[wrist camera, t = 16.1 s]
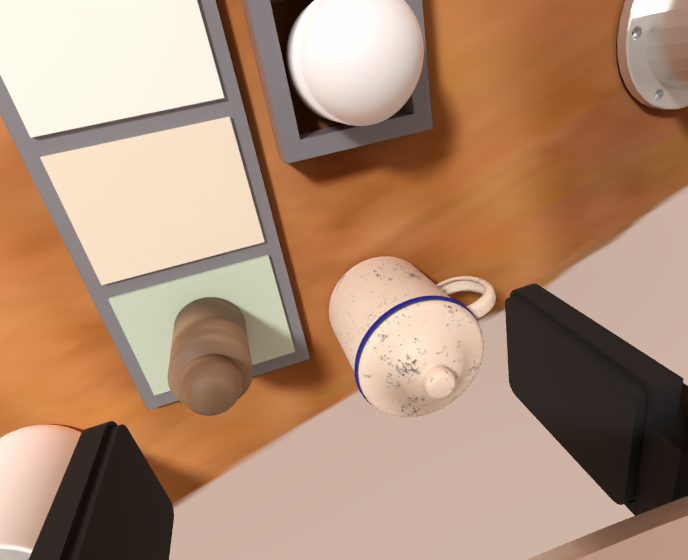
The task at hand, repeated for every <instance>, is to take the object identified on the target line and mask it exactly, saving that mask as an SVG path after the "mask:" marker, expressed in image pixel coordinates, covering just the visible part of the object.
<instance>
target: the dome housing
mask: <svg viewBox="0 0 688 560" xmlns="http://www.w3.org/2000/svg"><path fill="white" fill-rule="evenodd" d="M241 1H242V5H243V9H244V13H245V18H246V22H247V26H248V30H249V34H250V38H251V43H252V47H253V51H254V55H255V59H256V63H257V67H258V72H259V76H260V80H261V84H262V88H263V92H264V96H265V101H266V105H267V109H268V113H269V117H270V121H271V125H272V130H273V134H274V138H275V142H276V146H277V150H278V154H279V158H280V159H281V160H282V161H283V162H284V163H285V164H288V163H292V162H296V161H300V160H305V159H309V158H313V157H317V156H321V155H326V154H330V153H334V152H338V151H343V150H347V149H351V148H355V147H359V146H364V145H368V144H372V143H376V142H381V141H385V140H389V139H393V138H397V137H402V136H406V135H410V134H414V133H419V132H423V131H427V130H431V129H433V122H432V111H431V99H430V87H429V75H428V64H427V52H426V40H425V29H424V17H423V5H422V0H405V1H406V3H407V4H408V5H409V7H410V8H411V9H412V11H413V12H414V14H415V16H416V18H417V20H418V23H419V26H420V29H421V33H422V37H423V44H424V58H423V66H422V71H421V74H420V77H419V80H418V82H417V85H416V87H415V89H414V91H413V93H412V94H411V96H410V98H409V99H408V100H407V102H406V103H405V104H404V105H403V107H402V108H401V109H400V110H399V111H397V112H396V113H395V114H394V115H392V116H391V117H389V118H388V119H386V120H384V121H382V122H379V123H376V124H373V125H367V126H353V125H347V124H340V125H336V126H331V127H327V128H322V129H318V130H314V131H309V132H305V133H300V134H299V132H298V127H297V123H296V118H295V114H294V109H293V104H292V100H291V95H290V91H289V86H288V81H287V77H286V72H285V67H284V63H283V58H282V54H281V49H280V44H279V40H278V35H277V31H276V26H275V21H274V17H273V12H272V7H271V3H276V2H281V1H287V0H241Z"/></svg>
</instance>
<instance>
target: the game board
mask: <svg viewBox="0 0 688 560" xmlns="http://www.w3.org/2000/svg"><path fill="white" fill-rule="evenodd" d="M0 115H1V117H2V119H3V121H4V123H5V125H6V127H7V129H8V131H9V133H10V135H11V137H12V139H13V141H14V143H15V145H16V147H17V149H18V151H19V153H20V155H21V157H22V159H23V161H24V163H25V165H26V167H27V169H28V171H29V173H30V175H31V177H32V179H33V181H34V183H35V185H36V187H37V189H38V191H39V193H40V195H41V197H42V199H43V201H44V203H45V205H46V207H47V209H48V211H49V213H50V215H51V217H52V219H53V221H54V223H55V225H56V227H57V229H58V231H59V233H60V235H61V237H62V239H63V241H64V243H65V245H66V247H67V249H68V251H69V253H70V255H71V257H72V259H73V261H74V263H75V265H76V267H77V269H78V271H79V273H80V275H81V277H82V279H83V281H84V283H85V285H86V287H87V289H88V291H89V293H90V295H91V297H92V299H93V301H94V303H95V305H96V307H97V309H98V311H99V313H100V315H101V317H102V319H103V321H104V323H105V325H106V327H107V329H108V331H109V333H110V336H111V338H112V340H113V342H114V344H115V346H116V348H117V350H118V352H119V354H120V356H121V358H122V360H123V362H124V364H125V366H126V368H127V370H128V372H129V374H130V376H131V378H132V380H133V382H134V384H135V386H136V388H137V390H138V392H139V394H140V396H141V398H142V400H143V402H144V404H145V406H146V408H147V410H151V409H154V408H157V407H160V406H163V405H166V404H169V403H173V402H176V401H179V400H178V399H177V398H176V397H175V396H174V395H173V394H172V392H171V390H170V388H169V385H168V368H169V360H170V353H171V345H172V337H173V329H174V323H175V319H176V317H177V315H178V313H179V312H180V311H181V310H182V308H183V307H185V306H186V305H187V304H189V303H190V302H192V301H194V300H197V299H200V298H205V297H217V298H222V299H225V300H227V301H229V302H231V303H233V304H234V305H235V306H237V307H238V308H239V310H240V311H241V313H242V314H243V317H244V320H245V325H246V331H247V337H248V343H249V349H250V355H251V361H252V367H253V377H255V376H258V375H261V374H264V373H267V372H270V371H274V370H277V369H280V368H283V367H286V366H289V365H293V364H296V363H299V362H302V361H305V360H308V359H310V357H309V353H308V349H307V345H306V342H305V338H304V334H303V330H302V326H301V323H300V319H299V315H298V311H297V307H296V304H295V300H294V296H293V292H292V289H291V285H290V281H289V277H288V273H287V270H286V266H285V262H284V258H283V254H282V251H281V247H280V243H279V239H278V235H277V232H276V228H275V224H274V220H273V216H272V213H271V209H270V205H269V201H268V197H267V194H266V190H265V186H264V182H263V178H262V175H261V171H260V167H259V163H258V159H257V156H256V152H255V148H254V144H253V141H252V137H251V133H250V129H249V125H248V122H247V118H246V114H245V110H244V106H243V103H242V99H241V95H240V91H239V87H238V84H237V80H236V76H235V72H234V68H233V65H232V61H231V57H230V53H229V49H228V46H227V42H226V38H225V34H224V30H223V27H222V23H221V19H220V15H219V11H218V8H217V4H216V0H0Z"/></svg>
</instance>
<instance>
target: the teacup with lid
mask: <svg viewBox="0 0 688 560" xmlns="http://www.w3.org/2000/svg"><path fill="white" fill-rule="evenodd" d="M460 291H473V292H477V293H480V294H482V296H481V297H480V298H479V299H478V300H477V301H475V302H473V303H472V304H470V305H468V306H465V305H464V304H462V303H460V302H459V301H457V300H454V299H452V298H450V297H449V296H448V295H450V294H453V293H456V292H460ZM495 301H496V295H495V291H494V289H493V287H492V286H491V284H490V283H488V282H487V281H485V280H483V279H480V278H477V277H471V276H460V277H454V278H450V279H447V280H445V281H443V282H440V283H438V284H436V285H435V284H434V283H433V282H432V281H431V280H430V279H428V278H427V277H426V276H425V275H424V274H423V273H422V272H420V271H419V270H418V269H417V268H416V267H415V266H413V265H412V264H411V263H409V262H407V261H405V260H403V259H400V258H396V257H390V256H382V257H375V258H371V259H368V260H365V261H363V262H361V263H359V264H357V265H355V266H354V267H353V268H351V269H350V270H349V271H348V272H346V273H345V274H344V276H343V277H342V278H341V279H340V280H339V282H338V283H337V285H336V287H335V288H334V291H333V293H332V295H331V299H330V303H329V319H330V323H331V326H332V328H333V331H334V333H335V335H336V337H337V339H338V341H339V342H340V344H341V346H342V348H343V350H344V352H345V354H346V356H347V358H348V360H349V362H350V364H351V366H352V368H353V370H354V372H355V379H356V383H357V386H358V388H359V390H360V392H361V394H362V395H363V397H364V398H365V399H366V400H367V401H368V402H369V403H370V404H371V405H373V406H374V407H375V408H377V409H379V410H380V411H382V412H384V413H387V414H390V415H393V416H398V417H417V416H423V415H426V414H430V413H432V412H435V411H437V410H439V409H441V408H443V407H445V406H447V405H448V404H450V403H451V402H452V401H454V400H455V399H456V398H458V397H459V396H460V395H461V394H462V393H463V392H464V391H465V390H466V388H467V387H468V386H469V385H470V383H471V382H472V380H473V379H474V377H475V375H476V374H477V371H478V369H479V367H480V364H481V361H482V356H483V348H484V347H483V335H482V331H481V328H480V326H479V323H478V321H477V319H479V318H480V317H482V316H484V315H485V314H487V313H488V312H489V311H490V310H491V309H492V307H493V306H494V304H495Z"/></svg>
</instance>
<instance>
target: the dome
mask: <svg viewBox="0 0 688 560" xmlns="http://www.w3.org/2000/svg"><path fill="white" fill-rule="evenodd" d="M423 58H424V44H423V37H422V33H421V29H420V26H419V23H418V20H417V18H416V16H415V14H414V12H413V11H412V9H411V8H410V7H409V5H408V4H407V3H406V1H405V0H314V1H313V2H312V3H311V4H309V5H308V6H307V7H306V8H305V9H304V10H303V11H302V12H301V13H300V15H299V16H298V17H297V19H296V20H295V22H294V24H293V26H292V28H291V31H290V34H289V37H288V41H287V46H286V67H287V73H288V76H289V80H290V83H291V85H292V87H293V89H294V91H295V93H296V95H297V96H298V98H299V99H300V100H301V102H302V103H303V104H304V105H305V106H306V107H307V108H308V109H310V110H311V111H312V112H314V113H315V114H317V115H318V116H321V117H323V118H325V119H329V120H332V121H336V122H340V123H344V124H347V125H353V126H367V125H373V124H376V123H379V122H382V121H384V120H386V119H388V118H389V117H391V116H392V115H394V114H395V113H396V112H397V111H399V110H400V109H401V108H402V107H403V105H404V104H405V103H406V102H407V100H408V99H409V98H410V96H411V94H412V93H413V91H414V89H415V87H416V85H417V82H418V80H419V77H420V74H421V71H422V66H423Z"/></svg>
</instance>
